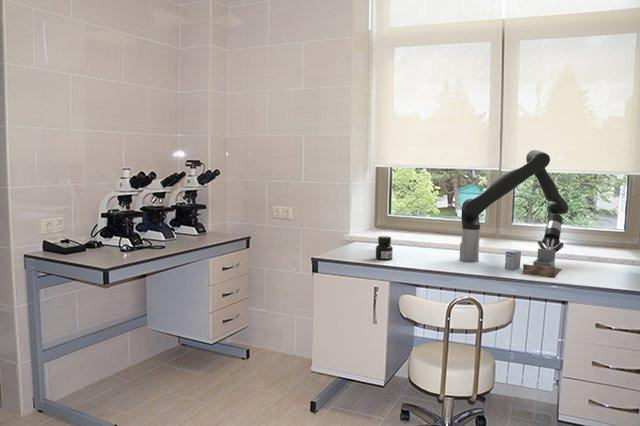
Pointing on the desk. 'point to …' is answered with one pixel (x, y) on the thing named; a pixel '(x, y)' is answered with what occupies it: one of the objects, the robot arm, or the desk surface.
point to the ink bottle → (384, 248)
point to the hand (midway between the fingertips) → (548, 257)
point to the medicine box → (512, 259)
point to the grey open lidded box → (545, 258)
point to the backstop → (540, 270)
